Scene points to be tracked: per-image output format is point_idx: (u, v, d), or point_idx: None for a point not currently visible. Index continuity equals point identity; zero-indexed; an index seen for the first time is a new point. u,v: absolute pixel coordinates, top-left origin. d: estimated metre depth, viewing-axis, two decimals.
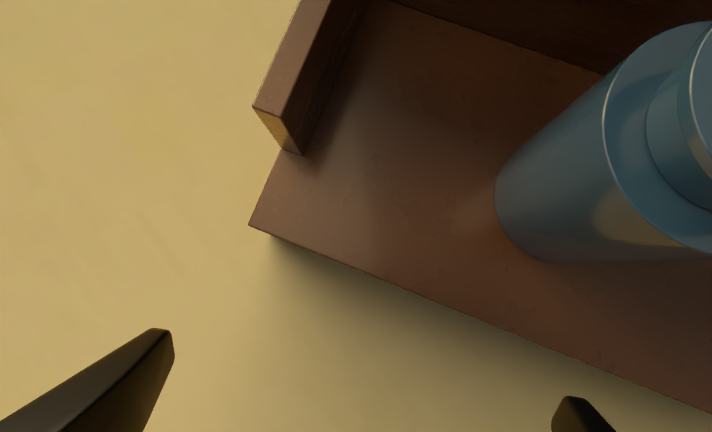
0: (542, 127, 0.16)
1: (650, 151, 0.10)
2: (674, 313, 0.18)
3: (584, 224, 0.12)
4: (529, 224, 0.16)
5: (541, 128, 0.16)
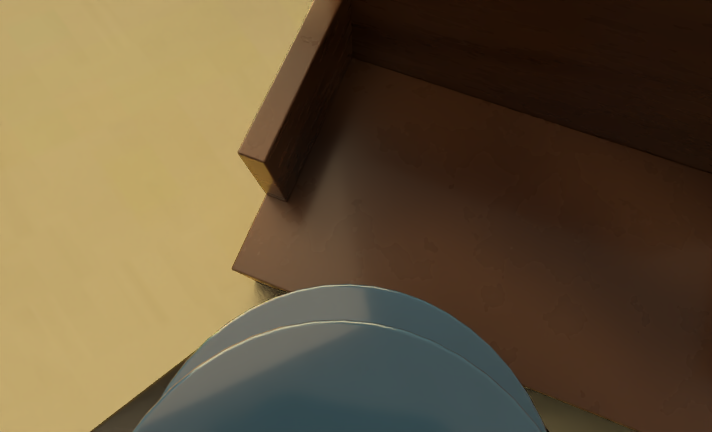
0: None
1: None
2: (652, 351, 0.18)
3: None
4: None
5: None
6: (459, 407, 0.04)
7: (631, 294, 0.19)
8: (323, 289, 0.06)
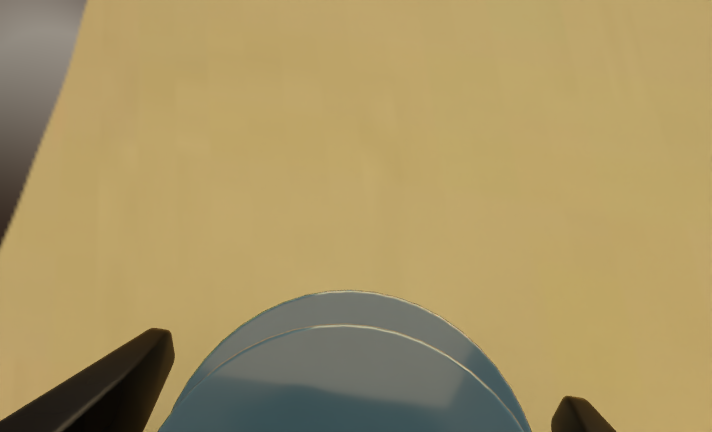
0: None
1: None
2: None
3: None
4: None
5: None
6: (446, 399, 0.05)
7: None
8: (327, 295, 0.07)
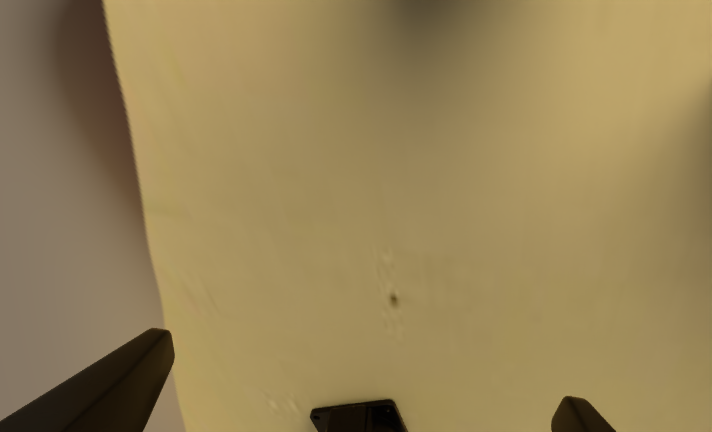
0: None
1: None
2: None
3: None
4: None
5: None
6: None
7: None
8: None
